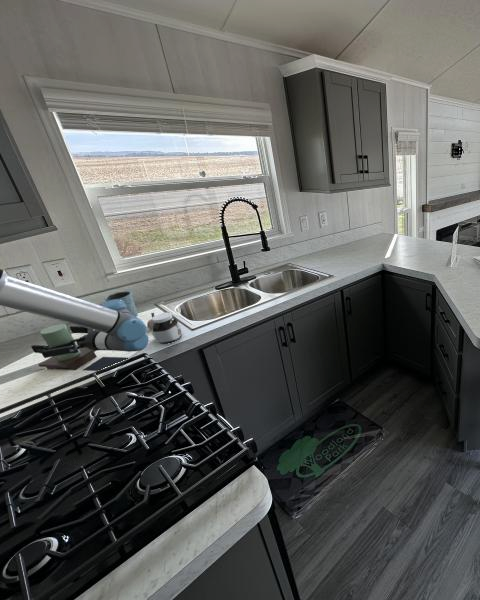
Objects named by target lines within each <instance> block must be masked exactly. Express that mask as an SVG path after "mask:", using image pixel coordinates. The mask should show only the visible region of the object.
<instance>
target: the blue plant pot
mask: <svg viewBox="0 0 480 600" xmlns="http://www.w3.org/2000/svg"><path fill="white" fill-rule="evenodd" d="M111 300H123V301H124V303H125V305H126V306H127V309H128V311H129V312H130V313H132V314H133V315H134V316H136V317H138V315H139V313H138V310H137V307H136V303H135V301H134V298H133V294H132V292H131V291H128V290H125V291H117V292H114V293H111V294H108V295H106V297H104V301H105V302H107V301H111Z"/></svg>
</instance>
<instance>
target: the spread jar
mask: <svg viewBox="0 0 480 600" xmlns="http://www.w3.org/2000/svg"><path fill="white" fill-rule="evenodd" d="M151 319H152V320H153V322H154V323H153V327H152V331H151V330H150V331H151V332H150V334H151V336H152V337H153V338H154V339H155V340H156V342H157V343H158V344H161V345H169V344H168V343H170V344H173V343H172V342H174V343H176V342H178V341H179V340H180V339H181V337H182V328H181V325H180V322H179V321H178V319H177V318H176V317H174V316H173V315H172V313H171V312H161V313H158V314H156V315H154V317H153V318H152V317H151ZM177 340H178V341H177ZM175 341H176V342H175Z"/></svg>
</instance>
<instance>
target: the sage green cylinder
mask: <svg viewBox="0 0 480 600" xmlns="http://www.w3.org/2000/svg"><path fill="white" fill-rule="evenodd" d="M70 331H71V330H69V328H68V326H67V324H65V323H60V324H54V325H51V326H48V327H45V328H44V329H42V330H40V335H41V337H42V338H43V340H44V341H45V342H44V343H46V346H49V347H51V346H55V345H59V344H63V343H67V342H70V341H71V340H74V336H73V335H72V333H71V332H70ZM74 343H75V345H76V346H77V343H76V342H74ZM78 354H80V350H79V349H78V352H77V353H69V354H64V355H58V356H54V357H55V358H56V360H57V361H63V360H67V359H70V358H73V357H75V356H77V355H78Z"/></svg>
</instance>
